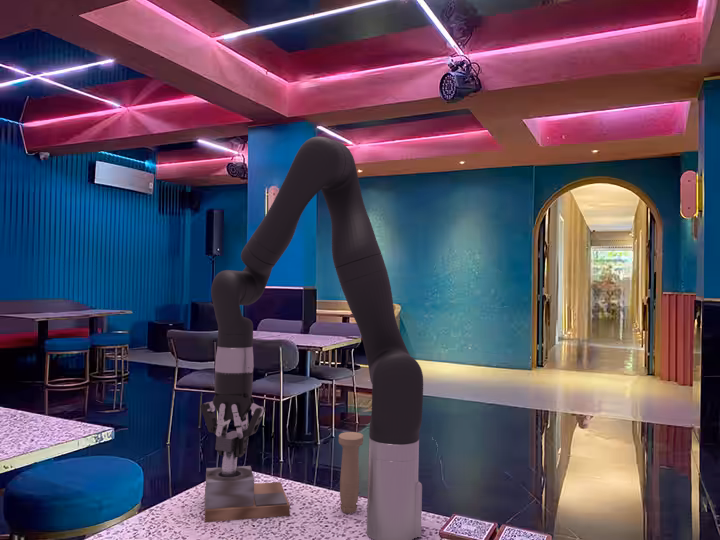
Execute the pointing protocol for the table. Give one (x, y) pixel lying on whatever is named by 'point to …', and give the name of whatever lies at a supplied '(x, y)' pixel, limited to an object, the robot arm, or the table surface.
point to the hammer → (228, 453)
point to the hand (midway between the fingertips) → (231, 454)
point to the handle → (350, 470)
